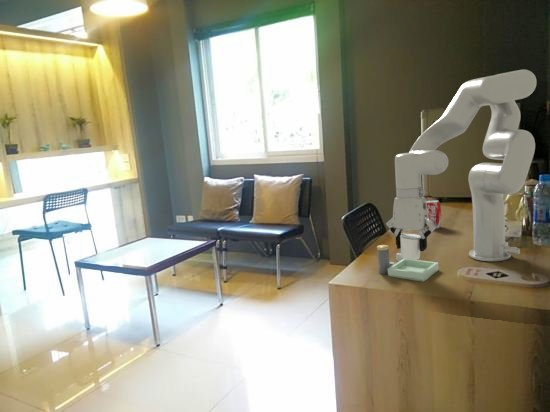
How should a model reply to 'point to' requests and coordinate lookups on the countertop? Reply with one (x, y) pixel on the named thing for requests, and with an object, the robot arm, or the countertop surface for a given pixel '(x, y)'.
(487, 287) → the countertop surface
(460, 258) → the countertop surface
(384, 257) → the grey upright cylinders
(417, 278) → the tray
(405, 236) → the white cup
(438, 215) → the soda can
